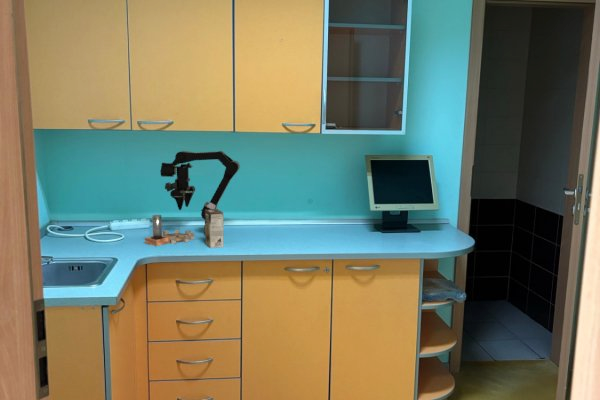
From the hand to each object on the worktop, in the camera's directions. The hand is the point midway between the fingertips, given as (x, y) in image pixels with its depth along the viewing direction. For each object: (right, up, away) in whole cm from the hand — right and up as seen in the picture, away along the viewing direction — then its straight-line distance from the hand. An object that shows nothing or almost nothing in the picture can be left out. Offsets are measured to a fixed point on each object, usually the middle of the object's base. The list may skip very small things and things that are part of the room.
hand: (183, 208), depth 289 cm
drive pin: (-8, -16, -18) cm, 25 cm away
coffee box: (+18, -17, -21) cm, 33 cm away
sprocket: (-4, -15, -12) cm, 19 cm away
